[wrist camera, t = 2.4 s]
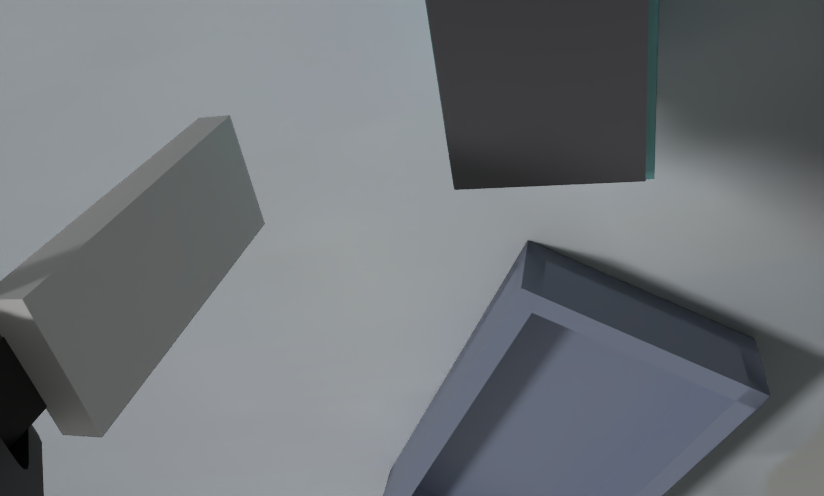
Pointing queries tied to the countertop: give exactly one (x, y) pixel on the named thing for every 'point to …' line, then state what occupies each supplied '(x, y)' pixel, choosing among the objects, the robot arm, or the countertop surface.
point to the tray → (579, 392)
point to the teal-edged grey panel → (546, 90)
